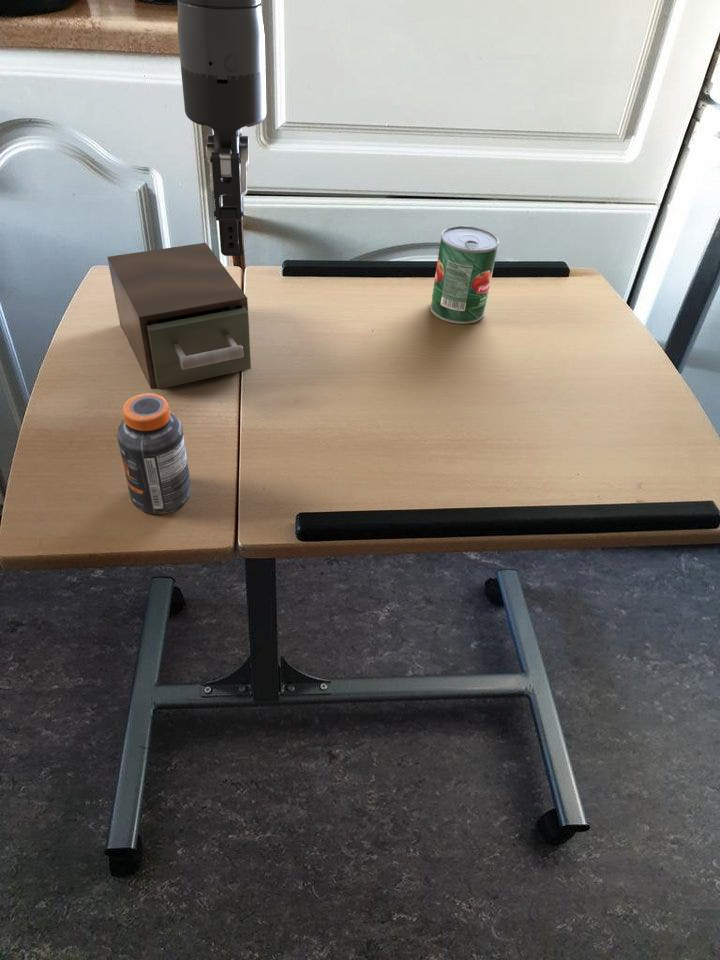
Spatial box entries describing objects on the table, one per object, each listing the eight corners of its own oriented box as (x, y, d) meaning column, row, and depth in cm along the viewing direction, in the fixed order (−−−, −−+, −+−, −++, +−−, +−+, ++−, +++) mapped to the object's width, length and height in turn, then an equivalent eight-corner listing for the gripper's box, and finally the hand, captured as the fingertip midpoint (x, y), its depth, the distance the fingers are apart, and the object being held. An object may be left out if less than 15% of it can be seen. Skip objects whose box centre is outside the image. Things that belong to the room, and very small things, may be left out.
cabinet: (251, 366, 88) (247, 297, 82) (150, 388, 84) (138, 316, 77) (211, 308, 98) (205, 242, 92) (119, 324, 94) (107, 256, 87)
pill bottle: (125, 483, 72) (105, 392, 64) (183, 469, 74) (170, 380, 66) (138, 523, 68) (118, 431, 60) (198, 507, 70) (186, 417, 62)
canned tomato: (427, 296, 105) (437, 223, 97) (478, 297, 105) (493, 226, 98) (434, 323, 99) (445, 249, 92) (488, 325, 100) (504, 251, 92)
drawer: (263, 388, 84) (261, 330, 78) (168, 409, 79) (160, 350, 74) (213, 312, 96) (208, 258, 90) (128, 328, 91) (118, 272, 86)
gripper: (185, 41, 68) (200, 208, 79) (173, 80, 57) (192, 267, 68) (264, 45, 69) (268, 210, 80) (266, 84, 58) (270, 268, 69)
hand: (233, 236), depth 74 cm, fingers open, 8 cm apart
